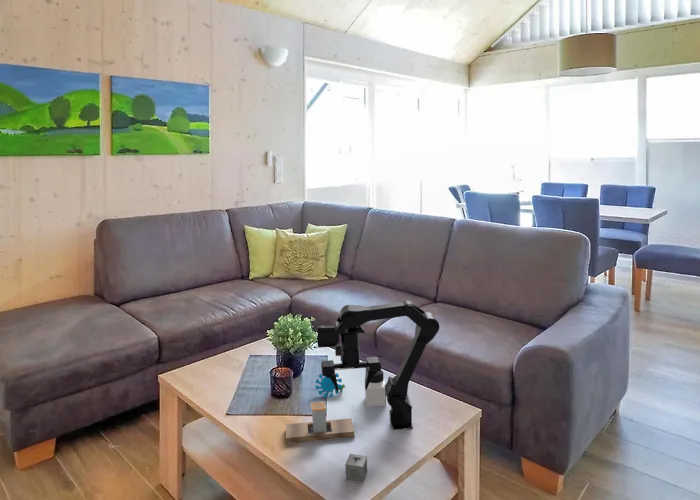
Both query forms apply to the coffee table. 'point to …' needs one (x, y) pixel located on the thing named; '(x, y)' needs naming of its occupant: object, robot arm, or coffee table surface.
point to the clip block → (319, 417)
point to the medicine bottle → (376, 391)
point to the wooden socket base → (300, 433)
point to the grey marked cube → (356, 468)
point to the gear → (328, 385)
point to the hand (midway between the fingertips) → (351, 390)
